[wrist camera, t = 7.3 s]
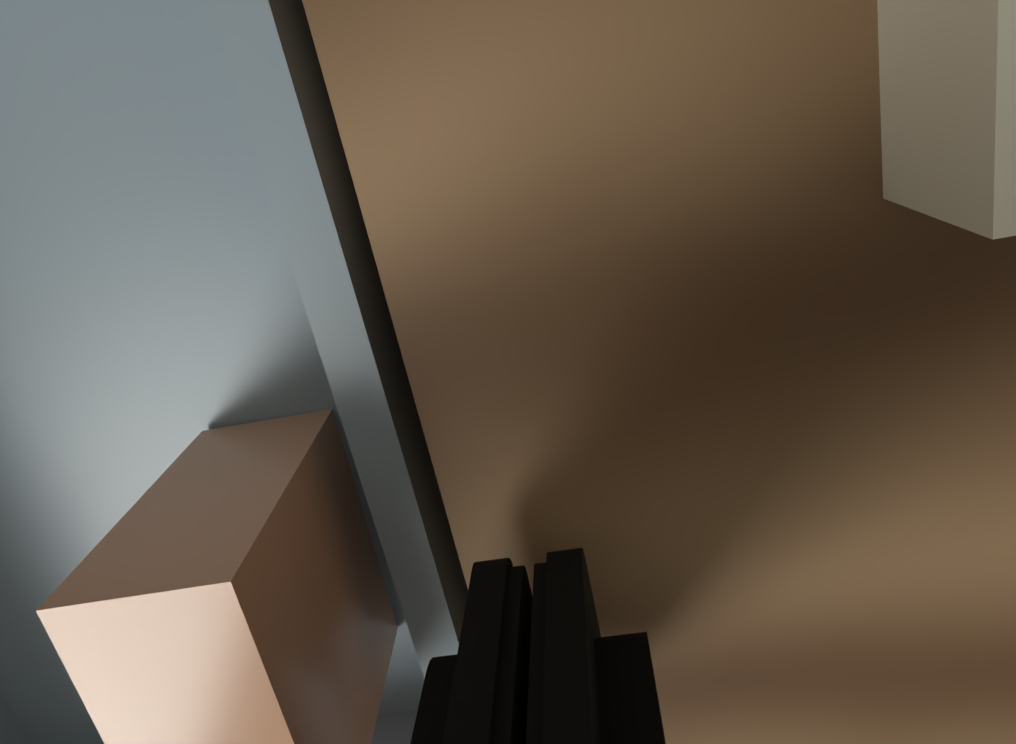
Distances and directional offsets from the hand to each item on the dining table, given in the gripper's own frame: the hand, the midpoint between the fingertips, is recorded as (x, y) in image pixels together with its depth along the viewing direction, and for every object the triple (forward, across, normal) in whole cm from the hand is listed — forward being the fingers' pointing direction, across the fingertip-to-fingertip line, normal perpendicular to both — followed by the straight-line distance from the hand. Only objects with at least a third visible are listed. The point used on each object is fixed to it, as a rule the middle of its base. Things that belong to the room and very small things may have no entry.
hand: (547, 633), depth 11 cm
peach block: (+1, +3, 0) cm, 3 cm away
